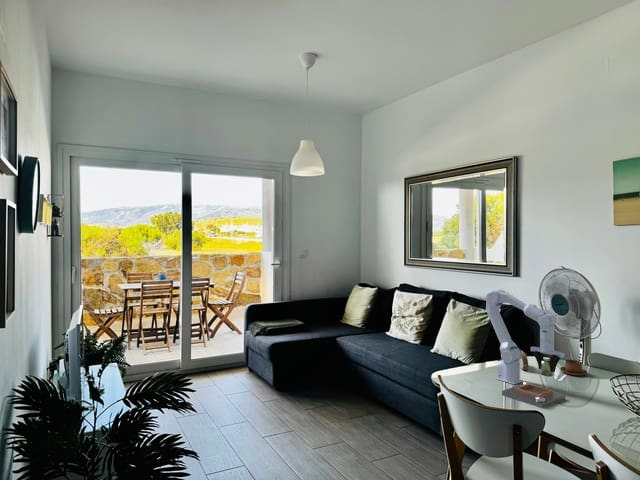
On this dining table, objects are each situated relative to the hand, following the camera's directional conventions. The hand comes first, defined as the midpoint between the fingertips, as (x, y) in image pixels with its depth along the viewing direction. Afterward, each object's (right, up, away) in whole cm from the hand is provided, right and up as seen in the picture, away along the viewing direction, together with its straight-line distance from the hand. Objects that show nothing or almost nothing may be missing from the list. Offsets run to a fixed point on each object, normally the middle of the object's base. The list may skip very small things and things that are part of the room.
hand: (546, 370), depth 200 cm
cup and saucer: (+26, -9, +25) cm, 37 cm away
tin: (+4, -9, +34) cm, 36 cm away
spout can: (0, -2, 0) cm, 2 cm away
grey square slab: (-11, -9, -10) cm, 17 cm away
